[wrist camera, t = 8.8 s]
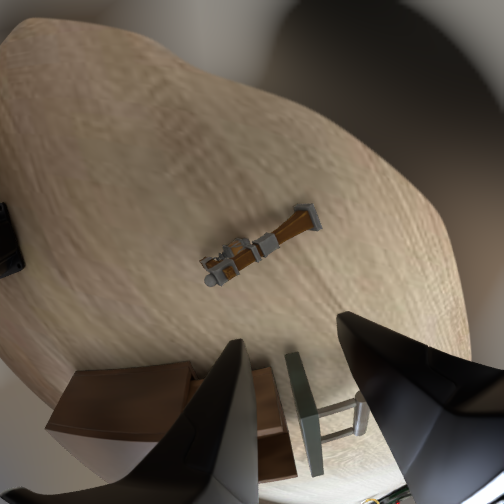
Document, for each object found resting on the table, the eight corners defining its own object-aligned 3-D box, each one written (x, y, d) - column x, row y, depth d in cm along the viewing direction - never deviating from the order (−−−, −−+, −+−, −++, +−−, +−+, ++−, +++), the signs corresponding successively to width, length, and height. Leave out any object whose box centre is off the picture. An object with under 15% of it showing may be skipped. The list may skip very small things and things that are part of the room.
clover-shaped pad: (359, 508, 50) (362, 518, 46) (405, 483, 46) (409, 494, 42) (385, 503, 54) (388, 512, 50) (425, 480, 50) (429, 488, 46)
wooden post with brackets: (184, 259, 18) (201, 273, 14) (277, 204, 20) (315, 203, 16) (196, 281, 18) (217, 301, 14) (286, 225, 21) (324, 229, 17)
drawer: (353, 334, 21) (387, 390, 15) (352, 413, 25) (370, 459, 19) (157, 376, 21) (141, 436, 15) (203, 443, 25) (201, 491, 19)
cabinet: (189, 360, 22) (176, 441, 14) (231, 437, 26) (233, 498, 18) (75, 370, 22) (44, 428, 14) (133, 441, 27) (122, 492, 19)
